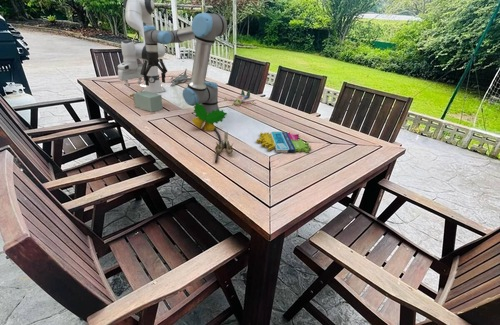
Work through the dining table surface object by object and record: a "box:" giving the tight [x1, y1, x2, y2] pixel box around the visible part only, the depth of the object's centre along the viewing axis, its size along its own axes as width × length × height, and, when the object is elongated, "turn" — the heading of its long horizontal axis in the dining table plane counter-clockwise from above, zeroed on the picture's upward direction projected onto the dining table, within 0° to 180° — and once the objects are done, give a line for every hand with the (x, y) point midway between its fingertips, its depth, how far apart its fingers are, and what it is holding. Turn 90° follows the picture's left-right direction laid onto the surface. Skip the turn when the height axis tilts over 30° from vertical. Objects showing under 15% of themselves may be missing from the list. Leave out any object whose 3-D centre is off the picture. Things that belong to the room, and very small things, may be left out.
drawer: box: [129, 93, 135, 106], centre depth 192 cm, size 22×9×8 cm, turn 58°
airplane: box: [168, 68, 191, 87], centre depth 266 cm, size 38×31×10 cm
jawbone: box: [214, 131, 234, 156], centre depth 136 cm, size 9×15×10 cm
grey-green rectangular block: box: [132, 90, 164, 113], centre depth 189 cm, size 17×10×10 cm, turn 58°
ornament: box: [191, 102, 228, 132], centre depth 162 cm, size 21×8×15 cm, turn 105°
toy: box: [223, 89, 257, 106], centre depth 219 cm, size 28×7×30 cm
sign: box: [256, 131, 312, 154], centre depth 152 cm, size 26×2×30 cm
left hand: (133, 85), depth 191 cm, fingers open, 8 cm apart
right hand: (155, 83), depth 185 cm, fingers open, 13 cm apart
